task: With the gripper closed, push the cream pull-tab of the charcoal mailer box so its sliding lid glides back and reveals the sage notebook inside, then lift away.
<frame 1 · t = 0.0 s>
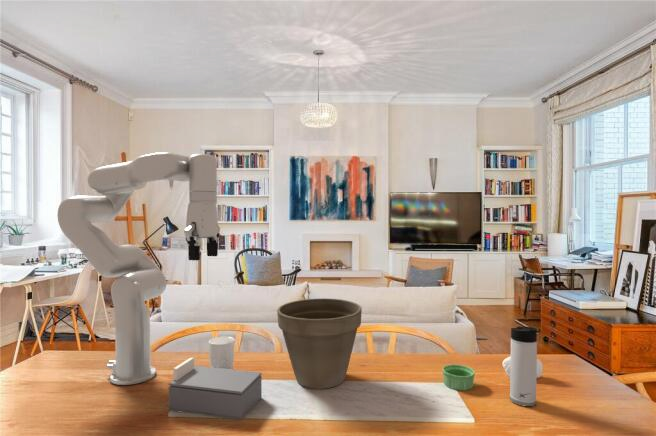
hand: (203, 258, 119), 37 cm above the table, tool pointing down, fingers open, 9 cm apart
white cup: (221, 372, 129), on the table
plant pot: (319, 379, 124), on the table
mailer lid: (216, 373, 108), point 8 cm above the table, slide at 0.0 cm
ramekin: (458, 385, 120), on the table
travel mug: (523, 402, 109), on the table
mailer box: (216, 403, 108), on the table
bust: (521, 376, 126), on the table
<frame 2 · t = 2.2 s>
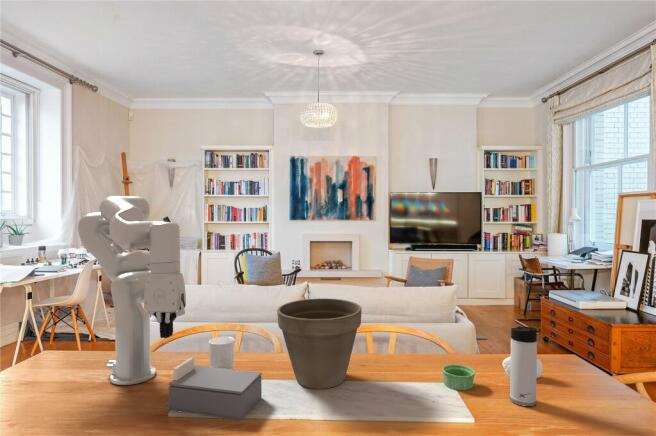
hand: (166, 336, 111), 17 cm above the table, tool pointing down, fingers closed
nothing on the table moved.
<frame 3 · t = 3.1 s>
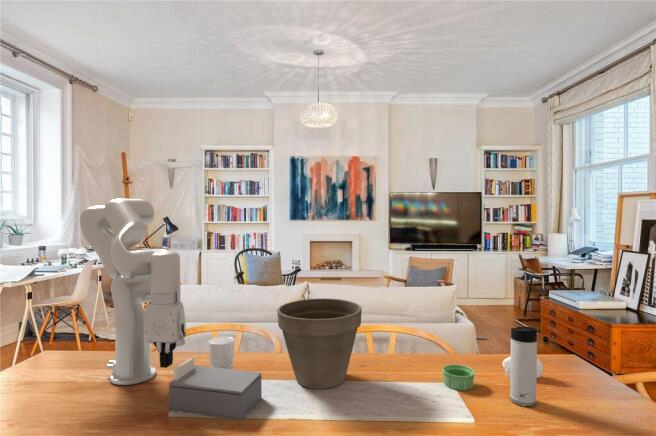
hand: (166, 365, 112), 9 cm above the table, tool pointing down, fingers closed
nothing on the table moved.
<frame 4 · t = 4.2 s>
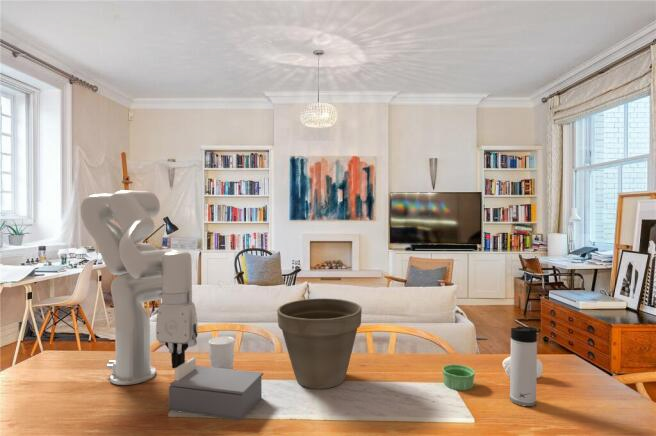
hand: (178, 366, 111), 9 cm above the table, tool pointing down, fingers closed
mailer lid: (217, 373, 108), point 8 cm above the table, slide at 0.4 cm, touching gripper
everything else where it was.
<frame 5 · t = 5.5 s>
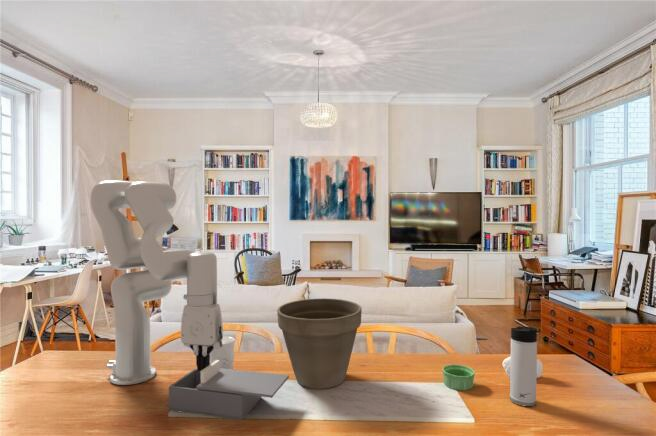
hand: (203, 369, 109), 9 cm above the table, tool pointing down, fingers closed
mailer lid: (244, 376, 106), point 8 cm above the table, slide at 7.8 cm, touching gripper
everything else where it was.
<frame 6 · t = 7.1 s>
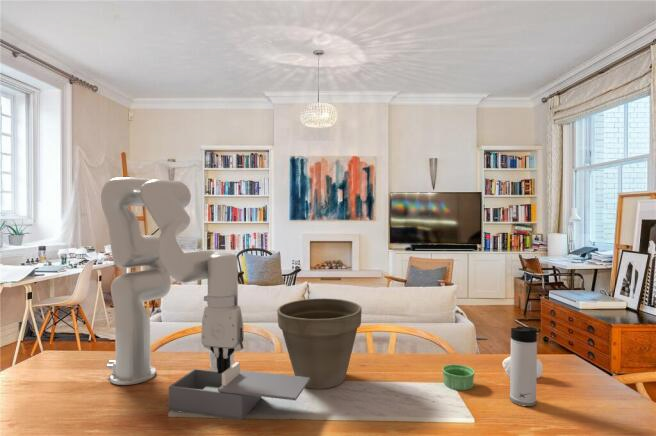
hand: (223, 371, 107), 9 cm above the table, tool pointing down, fingers closed
mailer lid: (265, 378, 105), point 8 cm above the table, slide at 13.7 cm, touching gripper
everything else where it was.
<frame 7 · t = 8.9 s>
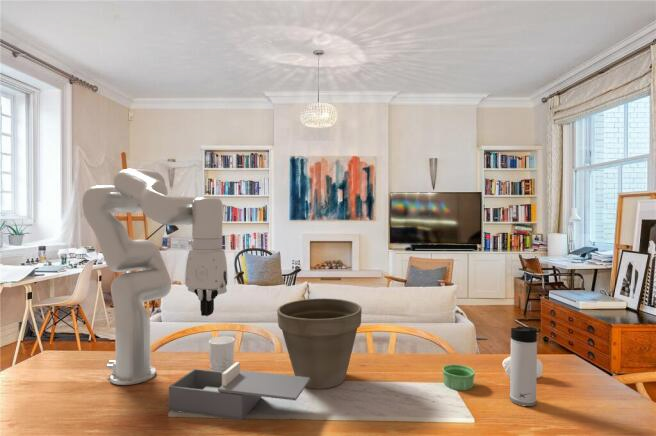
hand: (207, 314, 109), 23 cm above the table, tool pointing down, fingers closed
mailer lid: (265, 378, 105), point 8 cm above the table, slide at 13.7 cm
everything else where it was.
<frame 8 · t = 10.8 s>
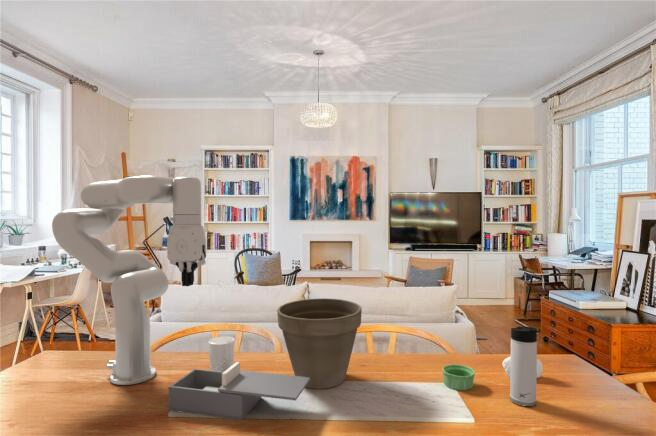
hand: (187, 285, 118), 29 cm above the table, tool pointing down, fingers closed
nothing on the table moved.
at the end: mailer lid slide at 13.7 cm; white cup moved 0.2 cm from its start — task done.
